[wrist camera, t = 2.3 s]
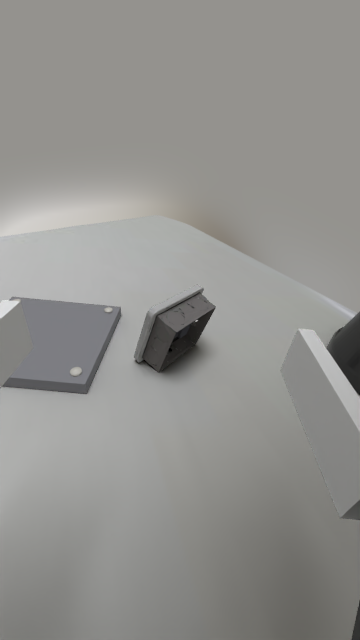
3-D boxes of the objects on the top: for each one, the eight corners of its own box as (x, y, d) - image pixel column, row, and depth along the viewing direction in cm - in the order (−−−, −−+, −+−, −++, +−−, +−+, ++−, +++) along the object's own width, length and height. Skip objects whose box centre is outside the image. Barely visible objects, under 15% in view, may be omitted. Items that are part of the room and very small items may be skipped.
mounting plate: (121, 314, 42) (120, 305, 41) (86, 393, 28) (84, 382, 27) (15, 305, 41) (12, 295, 40) (-70, 379, 28) (-77, 367, 27)
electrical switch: (179, 331, 39) (189, 277, 34) (206, 349, 37) (222, 294, 31) (132, 361, 33) (135, 301, 27) (161, 385, 31) (171, 326, 25)
